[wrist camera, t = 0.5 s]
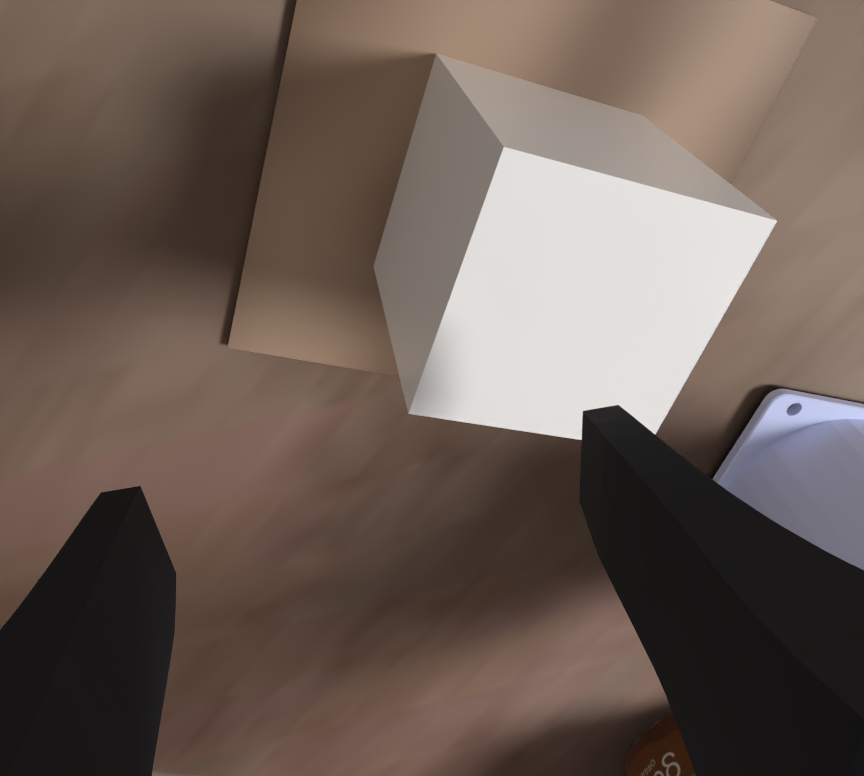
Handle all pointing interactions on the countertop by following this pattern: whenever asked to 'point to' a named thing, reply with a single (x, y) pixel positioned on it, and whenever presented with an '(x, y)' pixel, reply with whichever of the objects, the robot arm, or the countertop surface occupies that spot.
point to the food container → (659, 752)
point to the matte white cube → (552, 256)
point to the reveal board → (398, 110)
